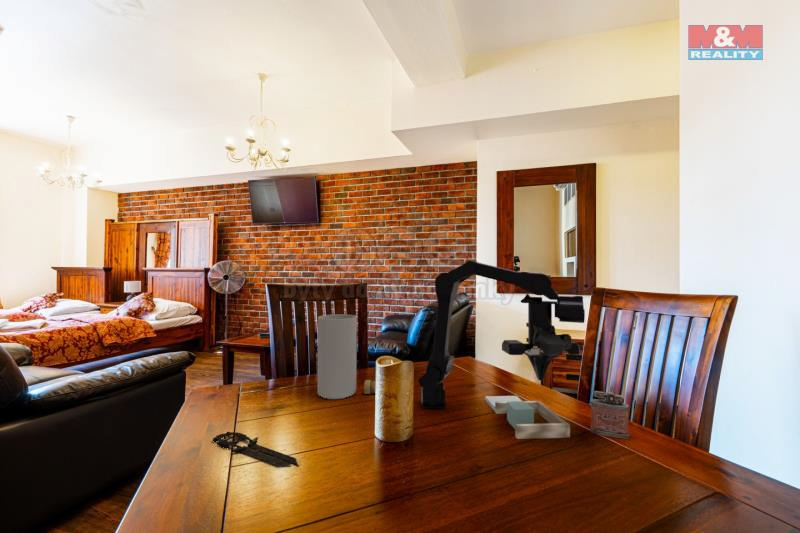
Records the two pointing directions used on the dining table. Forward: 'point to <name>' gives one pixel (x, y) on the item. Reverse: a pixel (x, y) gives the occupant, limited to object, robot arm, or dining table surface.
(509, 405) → the cube
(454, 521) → the dining table surface
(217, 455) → the dining table surface
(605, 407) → the lighter
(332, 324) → the cylinder vase
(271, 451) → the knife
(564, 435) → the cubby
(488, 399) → the ceramic tile
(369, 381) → the gavel
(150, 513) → the dining table surface
